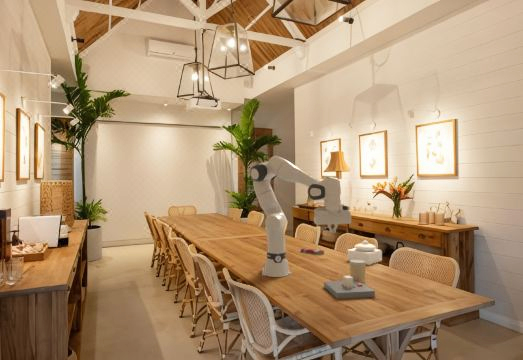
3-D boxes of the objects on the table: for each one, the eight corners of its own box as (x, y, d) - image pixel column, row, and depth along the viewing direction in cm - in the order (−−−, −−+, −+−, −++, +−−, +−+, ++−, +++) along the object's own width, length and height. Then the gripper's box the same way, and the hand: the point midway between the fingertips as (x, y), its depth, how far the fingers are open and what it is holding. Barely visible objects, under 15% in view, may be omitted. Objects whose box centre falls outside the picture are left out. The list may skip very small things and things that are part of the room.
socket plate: (324, 287, 193) (324, 280, 194) (358, 285, 197) (358, 278, 197) (337, 299, 174) (337, 291, 174) (374, 296, 177) (374, 289, 177)
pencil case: (317, 258, 268) (317, 251, 268) (298, 254, 283) (298, 248, 283) (326, 256, 275) (326, 249, 275) (307, 252, 290) (307, 246, 290)
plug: (341, 289, 189) (341, 274, 189) (347, 289, 190) (347, 274, 190) (346, 293, 183) (346, 278, 183) (353, 293, 183) (353, 277, 183)
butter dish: (369, 266, 241) (369, 243, 241) (347, 262, 254) (347, 240, 254) (382, 262, 253) (381, 240, 253) (360, 258, 266) (360, 237, 266)
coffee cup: (367, 280, 206) (367, 260, 206) (363, 284, 197) (363, 263, 198) (352, 278, 210) (352, 258, 210) (347, 282, 202) (347, 261, 202)
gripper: (315, 207, 184) (316, 233, 183) (352, 207, 187) (352, 232, 187) (312, 206, 190) (312, 232, 190) (347, 206, 193) (348, 231, 193)
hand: (332, 232), depth 188 cm, fingers closed
